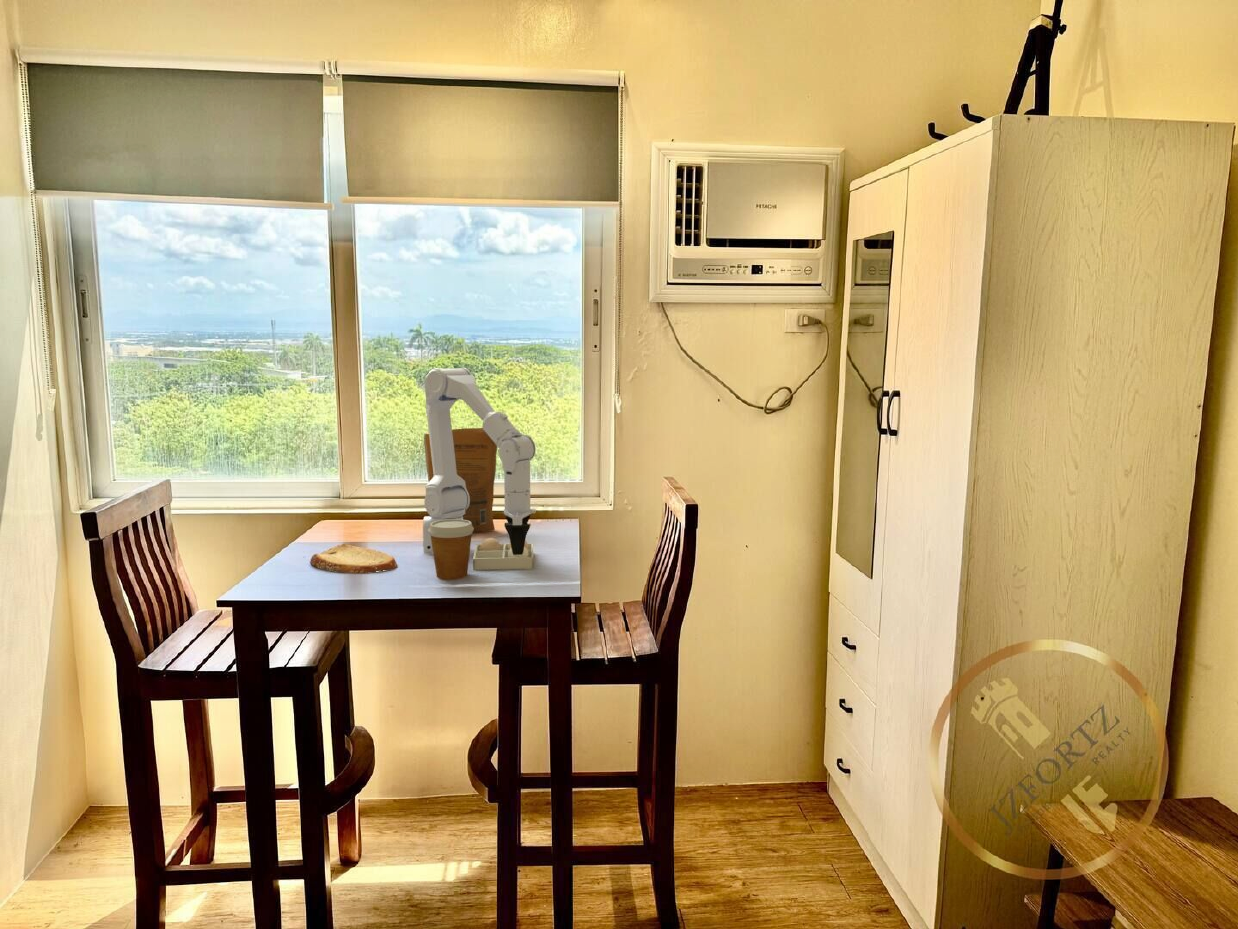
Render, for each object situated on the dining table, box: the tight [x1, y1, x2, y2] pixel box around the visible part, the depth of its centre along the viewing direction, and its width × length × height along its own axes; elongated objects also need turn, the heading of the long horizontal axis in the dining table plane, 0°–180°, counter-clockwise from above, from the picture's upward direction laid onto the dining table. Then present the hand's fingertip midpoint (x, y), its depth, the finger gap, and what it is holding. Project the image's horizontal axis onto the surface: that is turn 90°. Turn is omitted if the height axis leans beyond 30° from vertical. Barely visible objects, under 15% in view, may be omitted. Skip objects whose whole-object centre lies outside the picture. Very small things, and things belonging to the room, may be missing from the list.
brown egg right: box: [508, 540, 528, 550], centre depth 187 cm, size 5×5×5 cm
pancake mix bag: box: [423, 427, 498, 534], centre depth 213 cm, size 7×19×28 cm, turn 92°
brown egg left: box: [480, 537, 501, 551], centre depth 186 cm, size 5×5×5 cm
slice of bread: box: [310, 543, 399, 574], centre depth 182 cm, size 18×18×4 cm
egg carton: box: [472, 542, 534, 571], centre depth 183 cm, size 13×13×3 cm
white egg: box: [508, 547, 529, 558], centre depth 180 cm, size 5×5×5 cm
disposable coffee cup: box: [428, 519, 474, 581], centre depth 171 cm, size 10×10×12 cm
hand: (517, 550), depth 180 cm, fingers open, 7 cm apart
